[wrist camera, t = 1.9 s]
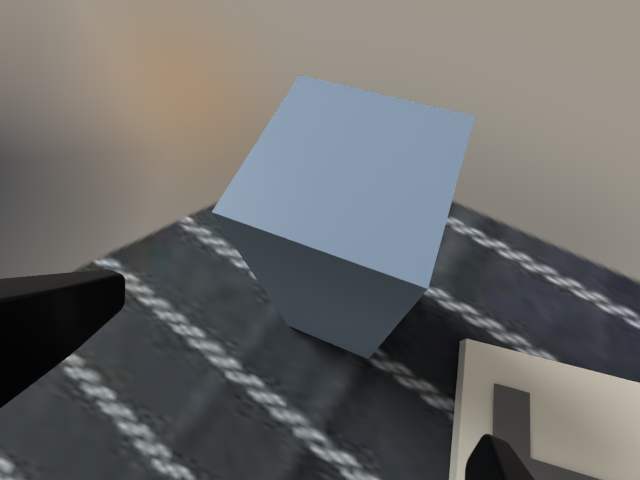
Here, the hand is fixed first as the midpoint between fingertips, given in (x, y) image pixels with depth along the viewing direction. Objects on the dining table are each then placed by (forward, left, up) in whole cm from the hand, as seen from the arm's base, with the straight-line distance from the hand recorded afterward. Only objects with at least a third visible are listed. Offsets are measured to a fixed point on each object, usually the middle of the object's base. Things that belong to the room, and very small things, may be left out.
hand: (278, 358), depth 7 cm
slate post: (+5, -1, -11) cm, 12 cm away
